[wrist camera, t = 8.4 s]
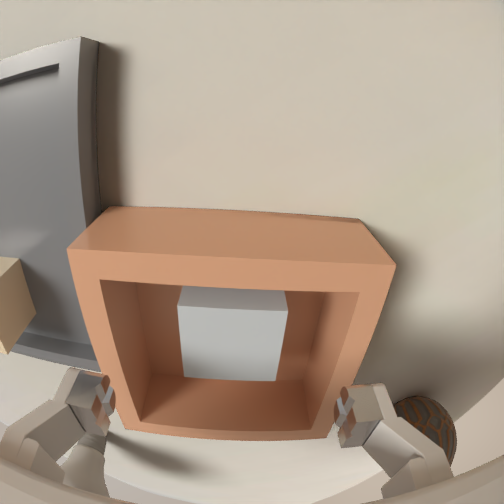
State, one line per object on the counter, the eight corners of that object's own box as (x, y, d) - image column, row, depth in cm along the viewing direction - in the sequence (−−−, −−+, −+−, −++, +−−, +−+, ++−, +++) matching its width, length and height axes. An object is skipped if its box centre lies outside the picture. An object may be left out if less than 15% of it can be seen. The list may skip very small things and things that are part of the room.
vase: (357, 413, 23) (381, 505, 15) (431, 373, 21) (472, 461, 13) (380, 437, 25) (401, 511, 17) (442, 404, 23) (473, 476, 16)
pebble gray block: (192, 253, 15) (177, 305, 11) (277, 258, 15) (288, 311, 11) (194, 320, 16) (184, 376, 13) (269, 323, 17) (275, 381, 13)
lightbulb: (75, 435, 25) (50, 521, 15) (61, 405, 22) (25, 504, 12) (129, 450, 26) (111, 542, 16) (122, 423, 23) (96, 532, 13)
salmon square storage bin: (109, 206, 14) (66, 248, 10) (358, 218, 15) (396, 265, 11) (140, 375, 20) (125, 428, 16) (314, 383, 20) (325, 437, 16)
